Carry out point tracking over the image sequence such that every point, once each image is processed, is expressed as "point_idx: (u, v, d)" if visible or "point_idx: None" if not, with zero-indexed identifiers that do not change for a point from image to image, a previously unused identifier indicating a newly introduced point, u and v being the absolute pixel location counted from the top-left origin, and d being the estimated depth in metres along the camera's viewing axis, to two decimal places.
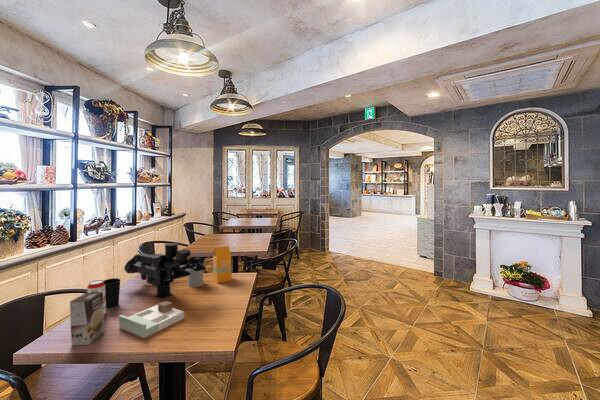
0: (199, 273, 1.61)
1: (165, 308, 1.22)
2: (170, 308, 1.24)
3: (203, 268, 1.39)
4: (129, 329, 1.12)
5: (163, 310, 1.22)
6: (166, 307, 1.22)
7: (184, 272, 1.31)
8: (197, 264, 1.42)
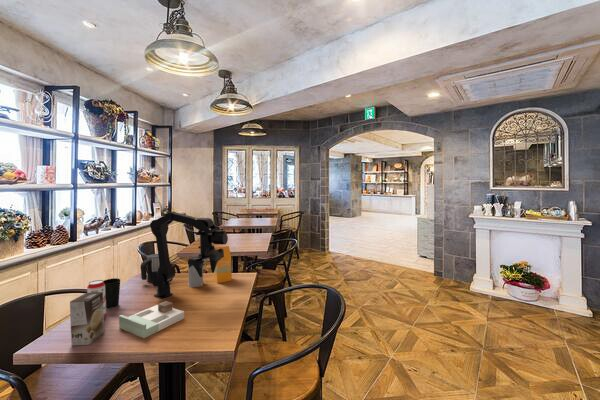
0: None
1: (165, 308, 1.22)
2: (170, 308, 1.24)
3: (212, 270, 1.47)
4: (129, 329, 1.12)
5: (163, 310, 1.22)
6: (166, 307, 1.22)
7: (199, 272, 1.39)
8: (214, 261, 1.46)
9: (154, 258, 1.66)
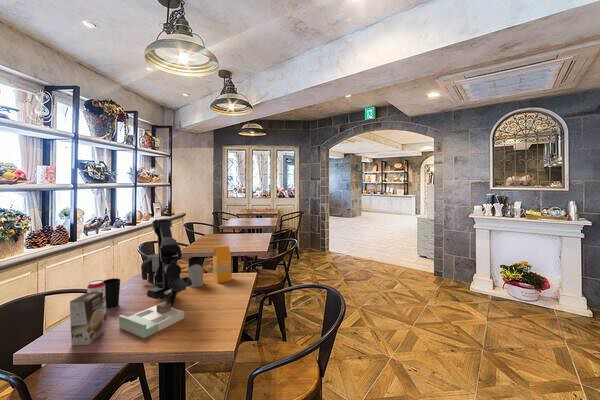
0: (199, 273, 1.61)
1: (164, 309, 1.21)
2: (169, 309, 1.23)
3: None
4: (129, 329, 1.12)
5: (162, 311, 1.21)
6: (165, 308, 1.22)
7: (169, 301, 1.25)
8: (173, 293, 1.26)
9: (155, 258, 1.66)
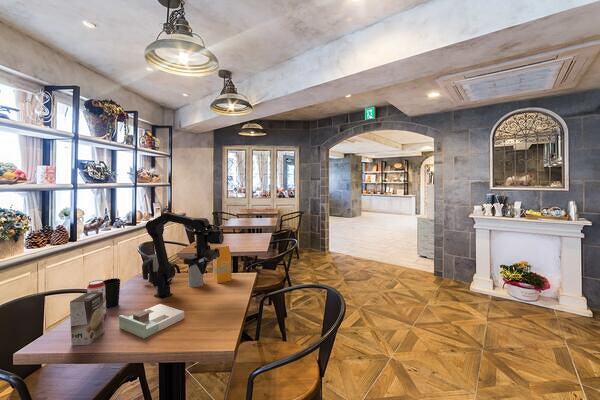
0: (199, 273, 1.61)
1: (140, 319, 1.12)
2: (146, 318, 1.15)
3: None
4: (129, 329, 1.12)
5: None
6: (142, 318, 1.13)
7: (201, 269, 1.43)
8: None
9: (155, 258, 1.66)
